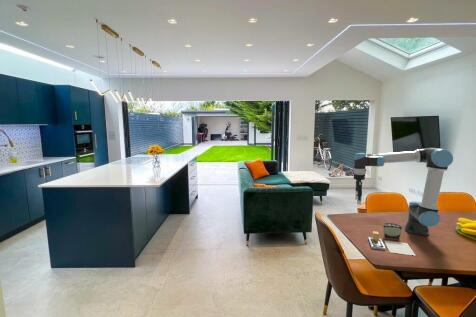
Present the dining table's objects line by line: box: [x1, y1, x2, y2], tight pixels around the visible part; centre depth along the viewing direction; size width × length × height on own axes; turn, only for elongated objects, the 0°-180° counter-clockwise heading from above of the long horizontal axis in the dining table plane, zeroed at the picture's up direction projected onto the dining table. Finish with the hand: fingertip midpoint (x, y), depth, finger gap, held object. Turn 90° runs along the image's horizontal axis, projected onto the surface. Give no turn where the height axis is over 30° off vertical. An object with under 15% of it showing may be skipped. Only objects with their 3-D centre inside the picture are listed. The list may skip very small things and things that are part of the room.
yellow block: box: [371, 230, 380, 241], centre depth 175 cm, size 3×4×5 cm
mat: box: [383, 240, 417, 257], centre depth 167 cm, size 14×18×1 cm
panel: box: [367, 236, 387, 251], centre depth 172 cm, size 8×15×2 cm, turn 161°
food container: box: [382, 222, 403, 241], centre depth 183 cm, size 12×6×10 cm, turn 71°
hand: (358, 202), depth 189 cm, fingers open, 13 cm apart
